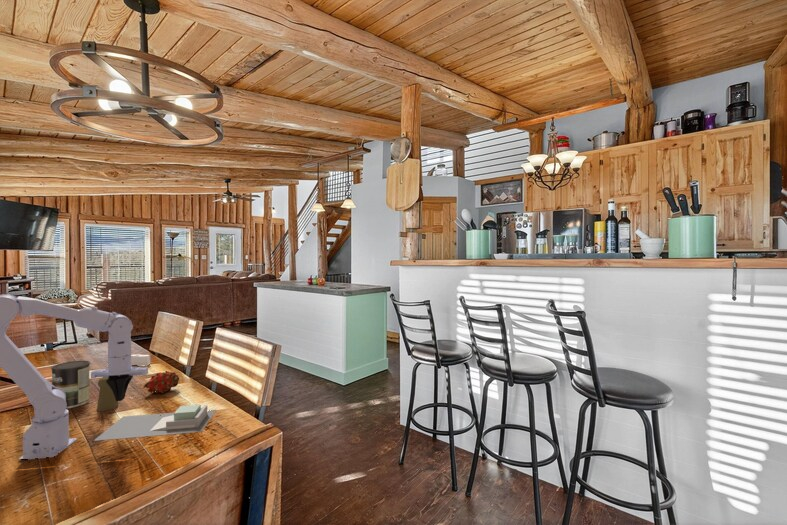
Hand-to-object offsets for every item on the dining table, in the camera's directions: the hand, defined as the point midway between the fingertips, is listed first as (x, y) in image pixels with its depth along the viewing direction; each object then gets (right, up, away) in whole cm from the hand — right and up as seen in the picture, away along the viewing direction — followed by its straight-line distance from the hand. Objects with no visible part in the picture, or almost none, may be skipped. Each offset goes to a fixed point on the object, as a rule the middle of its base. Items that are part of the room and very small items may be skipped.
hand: (120, 399), depth 110 cm
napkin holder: (-41, -9, +65) cm, 77 cm away
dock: (+9, -9, +4) cm, 14 cm away
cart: (+17, -8, +6) cm, 20 cm away
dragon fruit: (-7, -9, +31) cm, 33 cm away
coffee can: (-33, -9, +20) cm, 39 cm away
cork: (-16, -9, +16) cm, 25 cm away
